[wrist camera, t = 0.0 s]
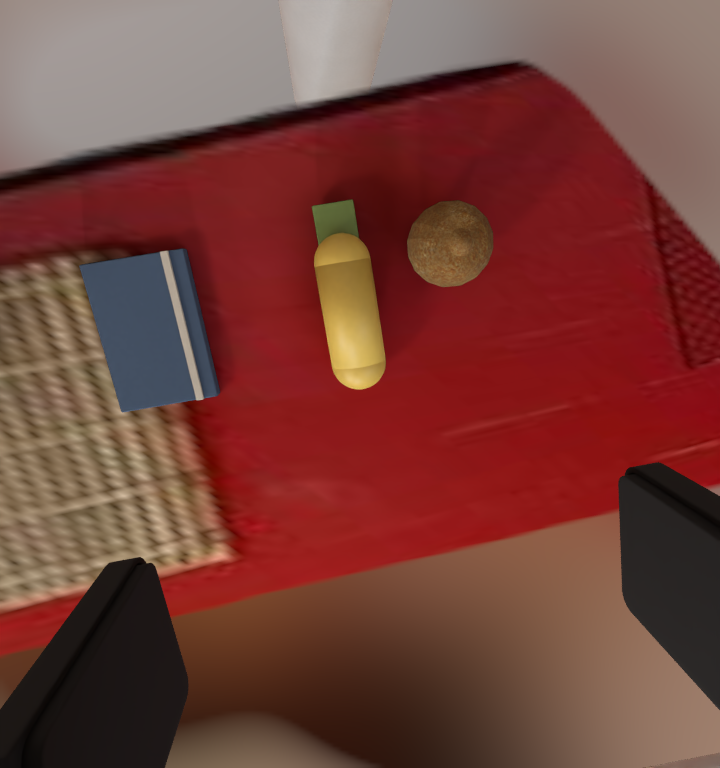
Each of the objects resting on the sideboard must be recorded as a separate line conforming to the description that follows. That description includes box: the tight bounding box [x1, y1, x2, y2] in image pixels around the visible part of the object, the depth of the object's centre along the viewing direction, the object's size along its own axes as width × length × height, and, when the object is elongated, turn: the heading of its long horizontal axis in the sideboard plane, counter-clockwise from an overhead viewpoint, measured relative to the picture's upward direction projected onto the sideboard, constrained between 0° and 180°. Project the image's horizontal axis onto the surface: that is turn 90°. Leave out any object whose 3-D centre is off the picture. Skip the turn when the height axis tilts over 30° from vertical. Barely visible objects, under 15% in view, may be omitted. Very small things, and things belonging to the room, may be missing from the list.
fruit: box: [407, 200, 493, 287], centre depth 36 cm, size 6×6×8 cm
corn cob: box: [312, 200, 386, 389], centre depth 38 cm, size 15×4×4 cm, turn 9°
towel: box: [80, 249, 220, 412], centre depth 39 cm, size 12×8×2 cm, turn 9°
